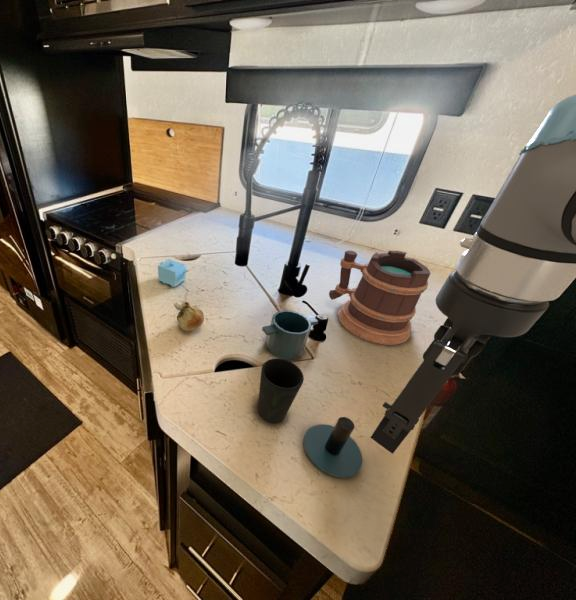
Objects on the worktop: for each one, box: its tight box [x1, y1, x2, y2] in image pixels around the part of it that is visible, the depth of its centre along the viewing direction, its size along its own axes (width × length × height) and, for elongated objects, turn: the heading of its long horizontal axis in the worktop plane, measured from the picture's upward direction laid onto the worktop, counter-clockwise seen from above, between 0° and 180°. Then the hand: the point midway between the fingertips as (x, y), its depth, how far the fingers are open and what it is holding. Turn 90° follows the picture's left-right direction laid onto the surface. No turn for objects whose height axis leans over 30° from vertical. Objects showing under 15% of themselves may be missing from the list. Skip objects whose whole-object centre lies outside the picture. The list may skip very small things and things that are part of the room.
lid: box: [303, 416, 363, 479], centre depth 56 cm, size 10×10×9 cm
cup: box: [257, 357, 305, 424], centre depth 62 cm, size 8×8×12 cm
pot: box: [261, 309, 319, 361], centre depth 79 cm, size 9×15×8 cm, turn 108°
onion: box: [173, 301, 205, 332], centre depth 85 cm, size 8×8×8 cm
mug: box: [328, 250, 431, 346], centre depth 85 cm, size 18×23×20 cm
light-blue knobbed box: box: [157, 259, 190, 288], centre depth 105 cm, size 12×6×8 cm, turn 54°
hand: (404, 414), depth 42 cm, fingers open, 13 cm apart
